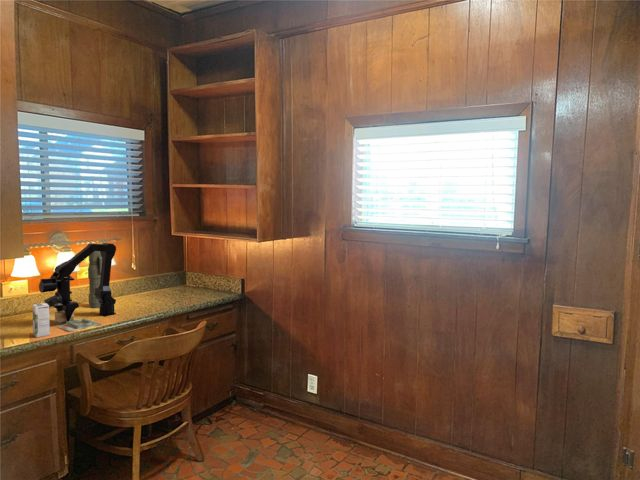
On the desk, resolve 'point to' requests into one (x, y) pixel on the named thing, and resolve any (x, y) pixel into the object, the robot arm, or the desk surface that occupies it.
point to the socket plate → (79, 325)
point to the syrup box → (41, 320)
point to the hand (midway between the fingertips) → (64, 319)
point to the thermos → (94, 277)
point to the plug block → (62, 318)
